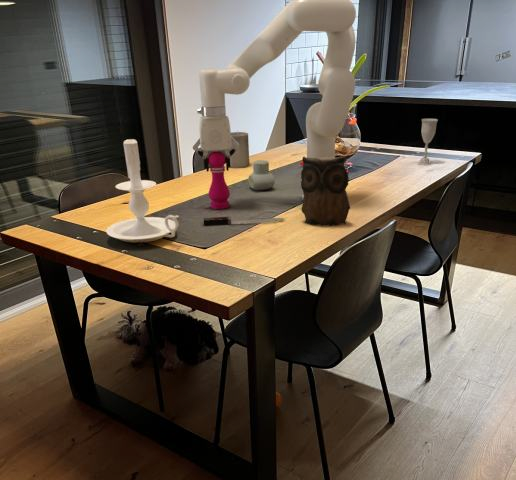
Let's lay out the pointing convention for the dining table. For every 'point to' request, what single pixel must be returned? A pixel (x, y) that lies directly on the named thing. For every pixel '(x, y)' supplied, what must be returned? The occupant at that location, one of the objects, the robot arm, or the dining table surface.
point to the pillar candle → (240, 150)
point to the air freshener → (261, 176)
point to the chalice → (427, 136)
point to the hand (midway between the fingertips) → (217, 169)
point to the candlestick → (140, 206)
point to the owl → (325, 191)
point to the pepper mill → (218, 181)
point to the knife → (237, 221)
